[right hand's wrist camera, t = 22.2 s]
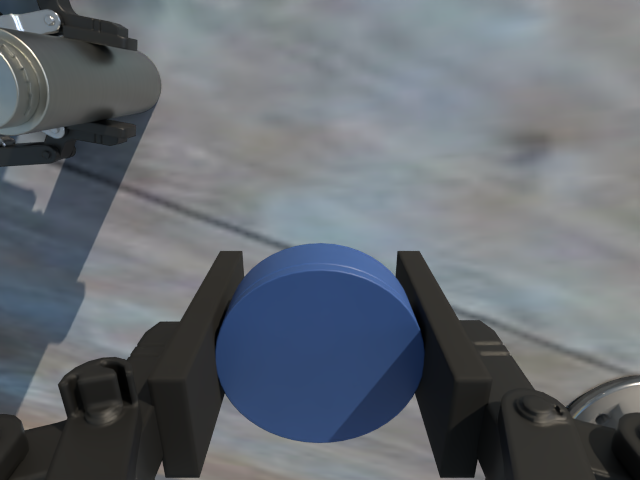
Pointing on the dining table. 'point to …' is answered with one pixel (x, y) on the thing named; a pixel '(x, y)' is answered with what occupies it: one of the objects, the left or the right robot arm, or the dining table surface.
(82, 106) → the jar
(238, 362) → the lid
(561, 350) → the dining table surface
